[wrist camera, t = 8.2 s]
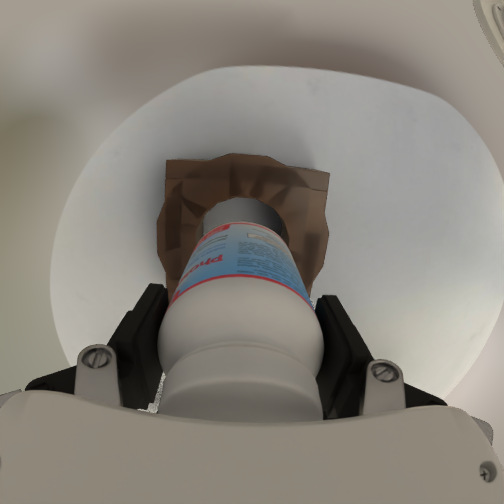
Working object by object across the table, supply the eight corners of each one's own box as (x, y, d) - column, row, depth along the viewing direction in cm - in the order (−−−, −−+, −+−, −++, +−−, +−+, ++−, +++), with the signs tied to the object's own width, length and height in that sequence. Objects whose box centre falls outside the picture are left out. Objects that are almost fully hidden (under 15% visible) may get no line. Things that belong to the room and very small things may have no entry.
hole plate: (171, 151, 22) (158, 151, 18) (324, 163, 23) (339, 165, 19) (171, 289, 26) (160, 310, 23) (303, 298, 27) (311, 320, 23)
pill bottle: (207, 204, 15) (136, 316, 5) (306, 238, 16) (394, 374, 6) (182, 294, 17) (128, 446, 7) (270, 319, 18) (293, 475, 8)
